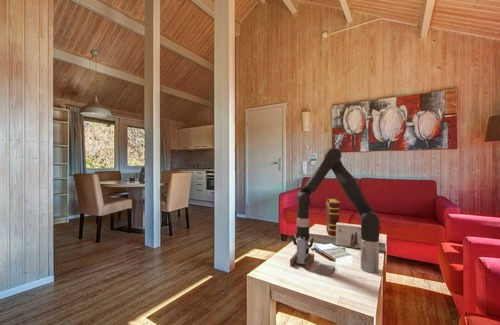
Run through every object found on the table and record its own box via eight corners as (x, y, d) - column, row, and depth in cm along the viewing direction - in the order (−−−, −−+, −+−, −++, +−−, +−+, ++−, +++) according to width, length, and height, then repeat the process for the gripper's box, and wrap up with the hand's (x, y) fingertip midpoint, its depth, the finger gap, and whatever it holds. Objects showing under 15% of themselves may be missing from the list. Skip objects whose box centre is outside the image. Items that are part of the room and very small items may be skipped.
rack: (314, 260, 145) (314, 253, 145) (307, 270, 131) (307, 263, 131) (297, 256, 150) (297, 250, 150) (289, 266, 136) (290, 259, 136)
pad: (334, 267, 135) (334, 266, 135) (330, 276, 124) (330, 274, 124) (320, 264, 138) (320, 263, 138) (315, 272, 128) (315, 271, 128)
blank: (308, 259, 143) (308, 236, 143) (304, 264, 135) (304, 240, 136) (301, 257, 146) (301, 235, 146) (296, 262, 138) (297, 239, 138)
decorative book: (339, 238, 188) (340, 201, 188) (329, 237, 190) (329, 201, 190) (335, 230, 210) (335, 197, 210) (326, 229, 212) (326, 197, 212)
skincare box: (335, 245, 172) (335, 224, 172) (336, 242, 177) (336, 222, 177) (367, 249, 164) (367, 227, 164) (366, 246, 169) (366, 225, 169)
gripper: (316, 225, 140) (316, 253, 140) (293, 222, 147) (293, 248, 147) (313, 228, 134) (313, 257, 134) (289, 224, 141) (289, 252, 141)
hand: (302, 252), depth 141 cm, fingers closed on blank, 4 cm apart
